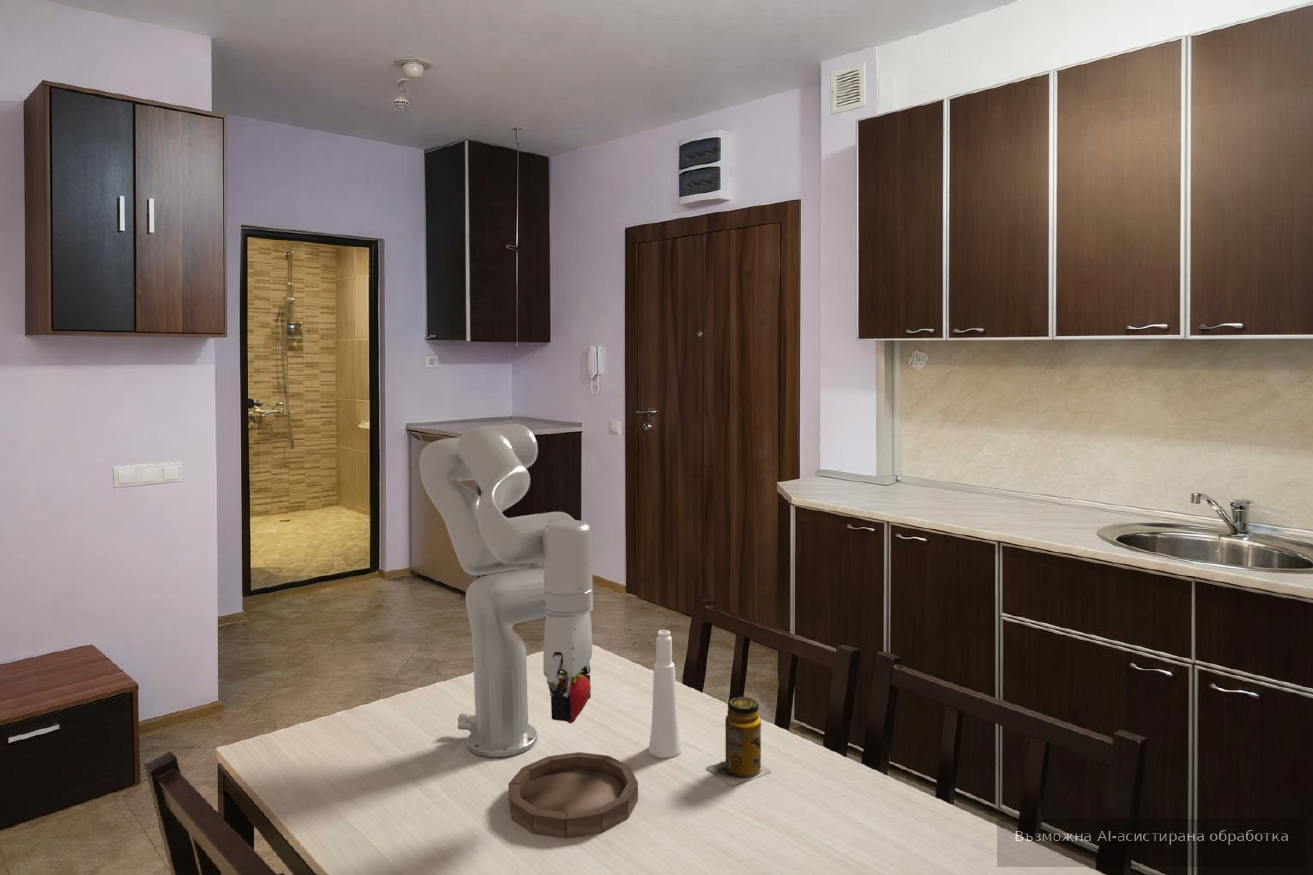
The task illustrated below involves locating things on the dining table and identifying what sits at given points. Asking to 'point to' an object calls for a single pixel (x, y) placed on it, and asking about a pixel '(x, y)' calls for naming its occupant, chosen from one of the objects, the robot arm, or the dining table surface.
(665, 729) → the cosmetic bottle
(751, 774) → the condiment
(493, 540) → the robot arm
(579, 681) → the strawberry
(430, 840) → the dining table surface
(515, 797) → the tray
